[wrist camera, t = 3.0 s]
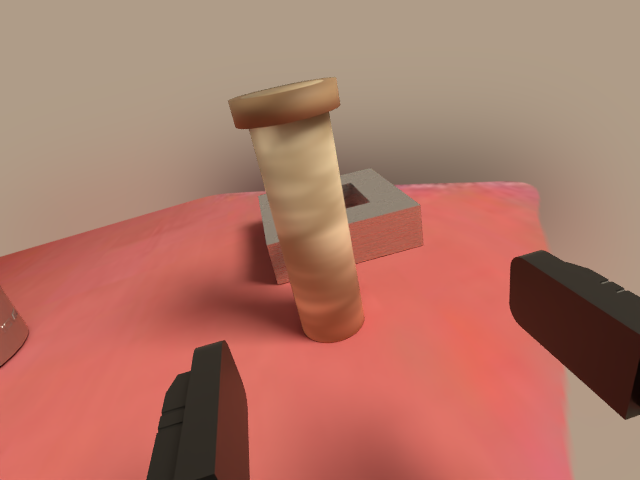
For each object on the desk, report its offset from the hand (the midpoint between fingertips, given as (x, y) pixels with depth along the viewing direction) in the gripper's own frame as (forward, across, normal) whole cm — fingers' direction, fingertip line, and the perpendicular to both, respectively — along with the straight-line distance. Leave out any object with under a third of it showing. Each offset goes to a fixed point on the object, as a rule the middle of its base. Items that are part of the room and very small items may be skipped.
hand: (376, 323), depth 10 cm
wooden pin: (+11, 0, +8) cm, 14 cm away
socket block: (+23, -3, +8) cm, 25 cm away
